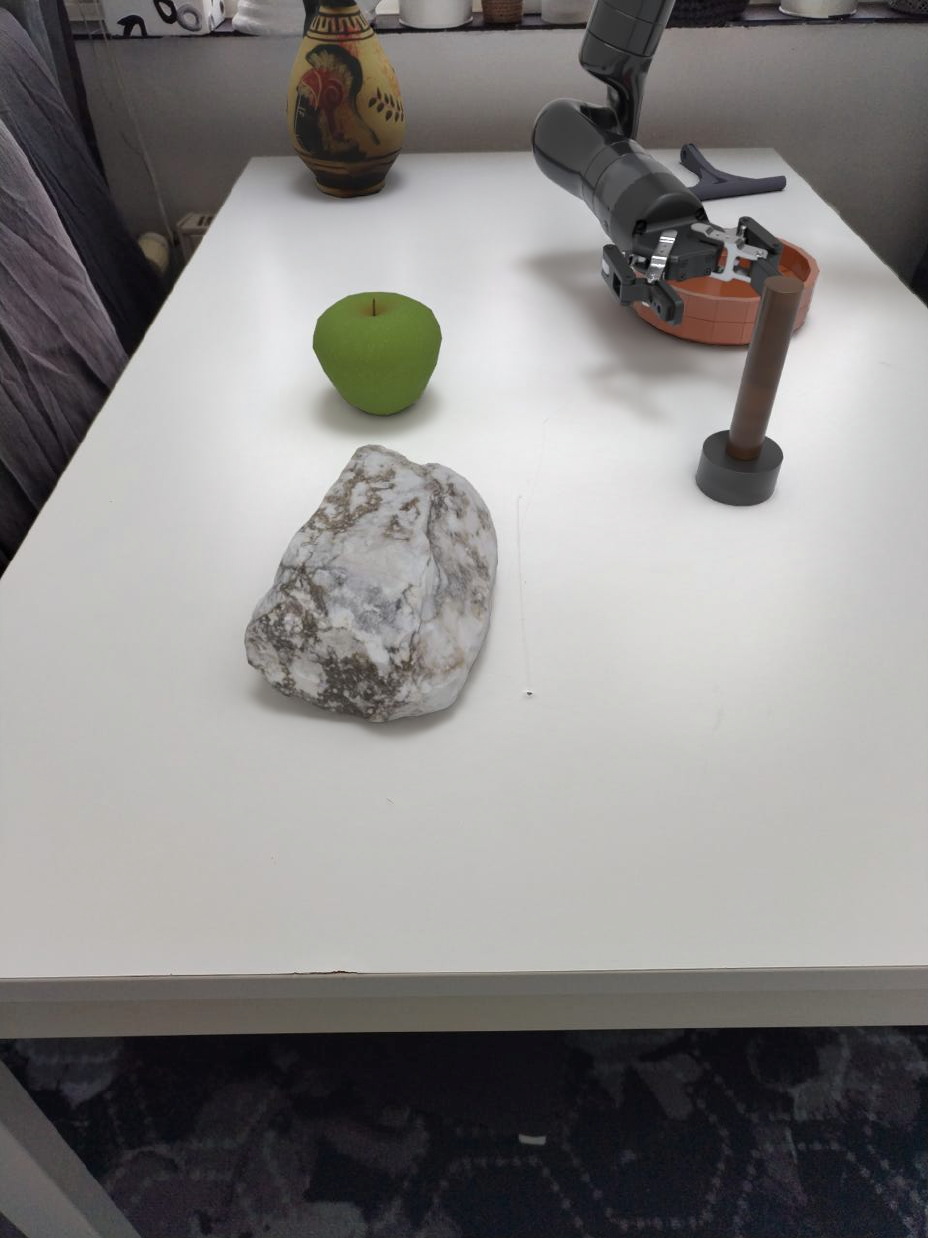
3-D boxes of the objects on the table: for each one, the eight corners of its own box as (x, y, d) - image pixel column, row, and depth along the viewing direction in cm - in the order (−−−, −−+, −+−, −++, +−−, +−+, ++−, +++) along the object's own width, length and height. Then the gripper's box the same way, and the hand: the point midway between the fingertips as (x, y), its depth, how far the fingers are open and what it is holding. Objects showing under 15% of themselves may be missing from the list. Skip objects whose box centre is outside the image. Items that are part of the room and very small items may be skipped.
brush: (756, 457, 70) (808, 261, 59) (786, 501, 66) (848, 299, 55) (685, 464, 70) (724, 268, 58) (711, 509, 66) (758, 307, 54)
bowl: (760, 267, 96) (771, 221, 93) (836, 340, 84) (852, 290, 80) (609, 282, 94) (614, 235, 91) (664, 359, 82) (672, 309, 78)
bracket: (728, 156, 123) (732, 134, 121) (784, 190, 113) (789, 167, 111) (636, 168, 120) (638, 146, 118) (684, 205, 110) (688, 181, 108)
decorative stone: (353, 491, 65) (358, 391, 57) (520, 550, 65) (550, 457, 56) (237, 703, 55) (222, 618, 46) (436, 776, 54) (457, 703, 45)
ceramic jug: (431, 176, 119) (419, -105, 98) (364, 213, 110) (335, -89, 89) (334, 157, 126) (303, -111, 105) (264, 190, 117) (214, -96, 95)
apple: (457, 382, 80) (454, 275, 73) (423, 444, 73) (416, 332, 65) (348, 368, 82) (335, 263, 75) (304, 427, 75) (285, 317, 68)
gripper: (574, 186, 74) (650, 278, 64) (726, 156, 76) (823, 241, 66) (571, 268, 80) (640, 364, 70) (712, 238, 82) (799, 328, 72)
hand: (729, 305), depth 68 cm, fingers open, 8 cm apart
